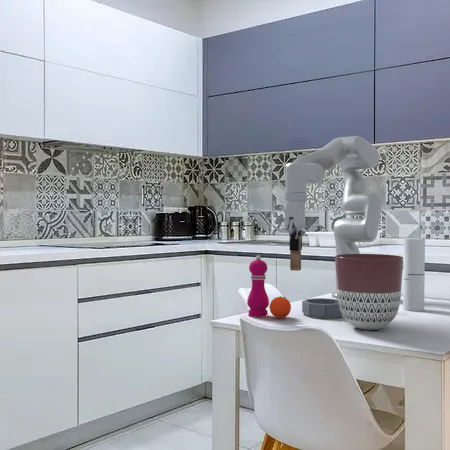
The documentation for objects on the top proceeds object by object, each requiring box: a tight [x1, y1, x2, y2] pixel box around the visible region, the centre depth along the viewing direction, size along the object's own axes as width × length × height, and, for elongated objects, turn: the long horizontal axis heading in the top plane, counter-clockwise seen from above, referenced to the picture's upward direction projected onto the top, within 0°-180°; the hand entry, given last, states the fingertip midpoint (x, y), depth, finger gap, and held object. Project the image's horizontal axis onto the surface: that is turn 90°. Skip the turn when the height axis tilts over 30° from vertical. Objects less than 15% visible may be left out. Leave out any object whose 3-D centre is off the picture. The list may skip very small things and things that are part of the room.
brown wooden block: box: [289, 236, 302, 272], centre depth 205 cm, size 3×3×12 cm
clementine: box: [269, 295, 292, 319], centre depth 189 cm, size 8×7×7 cm
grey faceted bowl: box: [301, 297, 343, 319], centre depth 194 cm, size 13×13×4 cm
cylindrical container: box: [402, 237, 426, 312], centre depth 205 cm, size 7×7×25 cm
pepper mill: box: [246, 255, 270, 318], centre depth 192 cm, size 7×7×20 cm
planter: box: [334, 253, 404, 331], centre depth 172 cm, size 20×20×21 cm
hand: (295, 249), depth 205 cm, fingers closed on brown wooden block, 3 cm apart
